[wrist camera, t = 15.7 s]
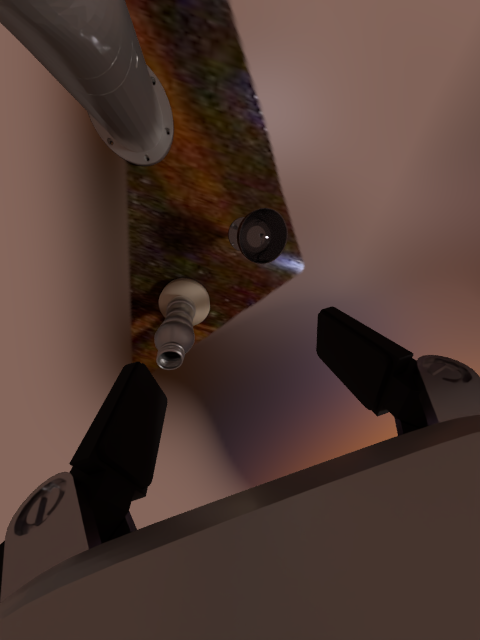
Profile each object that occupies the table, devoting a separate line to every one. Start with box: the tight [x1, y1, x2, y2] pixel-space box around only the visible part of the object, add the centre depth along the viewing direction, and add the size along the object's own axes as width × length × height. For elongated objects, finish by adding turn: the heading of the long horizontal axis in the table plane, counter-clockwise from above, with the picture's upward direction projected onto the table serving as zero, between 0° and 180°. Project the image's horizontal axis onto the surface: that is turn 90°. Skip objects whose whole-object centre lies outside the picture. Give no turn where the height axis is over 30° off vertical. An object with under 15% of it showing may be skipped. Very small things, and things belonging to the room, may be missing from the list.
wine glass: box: [229, 208, 288, 264], centre depth 33 cm, size 8×8×15 cm
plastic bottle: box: [155, 296, 196, 370], centre depth 33 cm, size 6×7×20 cm
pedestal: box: [159, 278, 210, 326], centre depth 43 cm, size 12×12×3 cm
